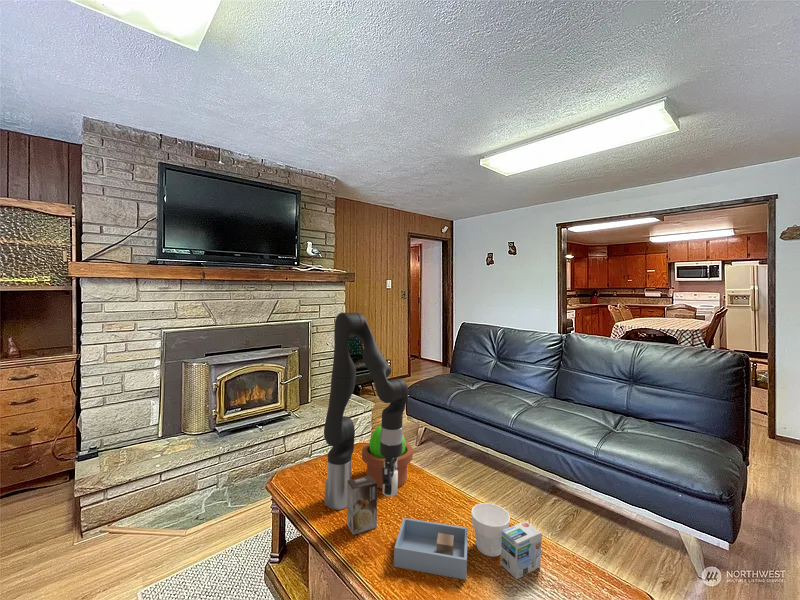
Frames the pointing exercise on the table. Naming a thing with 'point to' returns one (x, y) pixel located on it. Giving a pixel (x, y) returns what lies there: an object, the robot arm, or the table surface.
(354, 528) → the coffee box
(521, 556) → the light bulb box
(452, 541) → the cube
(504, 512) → the cup
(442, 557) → the tote
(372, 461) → the potted cactus
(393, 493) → the white rounded cylinder
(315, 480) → the table surface
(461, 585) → the table surface
